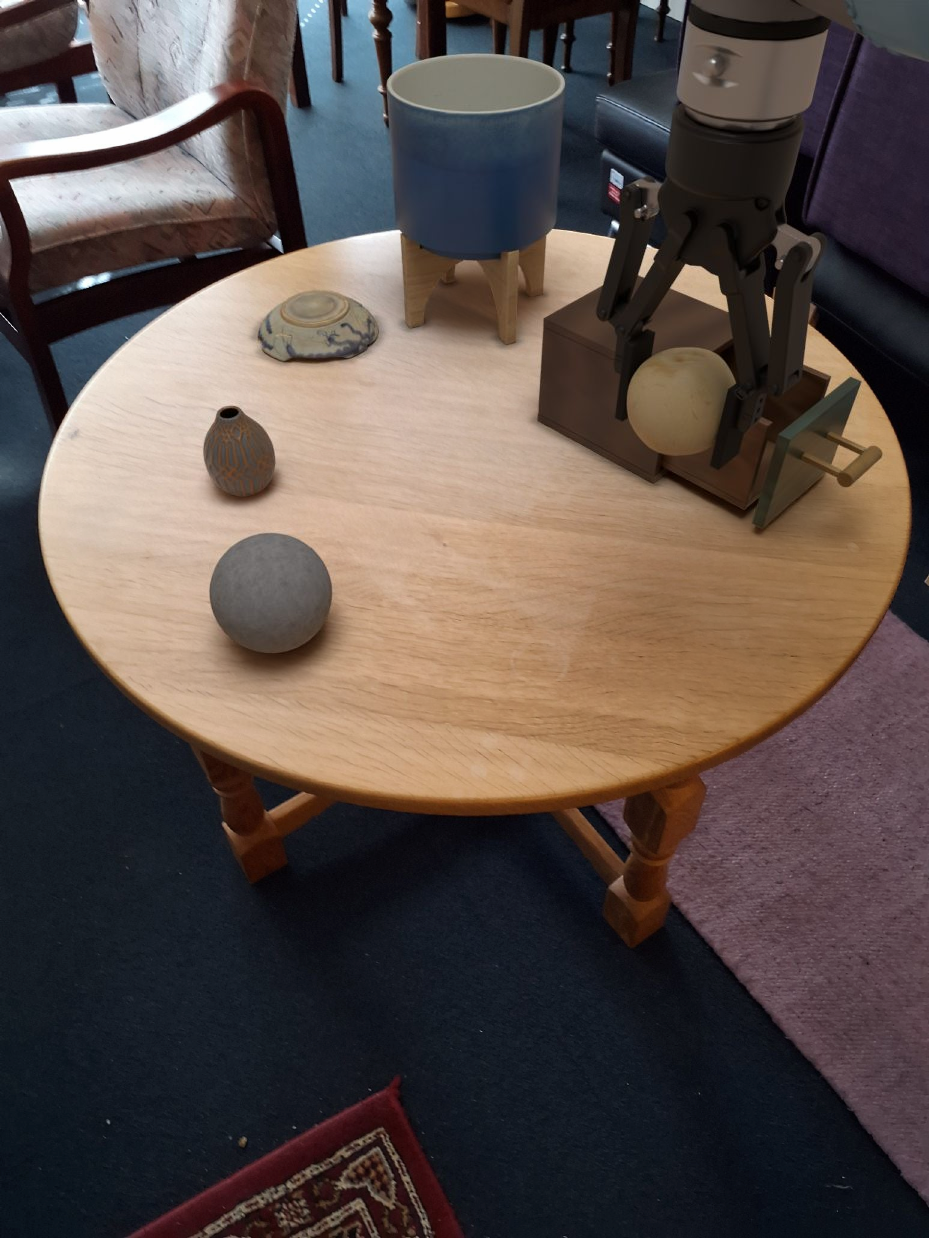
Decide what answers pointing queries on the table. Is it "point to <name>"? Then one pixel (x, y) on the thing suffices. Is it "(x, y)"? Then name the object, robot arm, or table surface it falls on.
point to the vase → (238, 453)
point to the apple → (679, 400)
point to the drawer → (783, 447)
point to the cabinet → (613, 371)
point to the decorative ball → (270, 592)
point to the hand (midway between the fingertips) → (675, 435)
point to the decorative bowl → (317, 327)
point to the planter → (475, 173)
